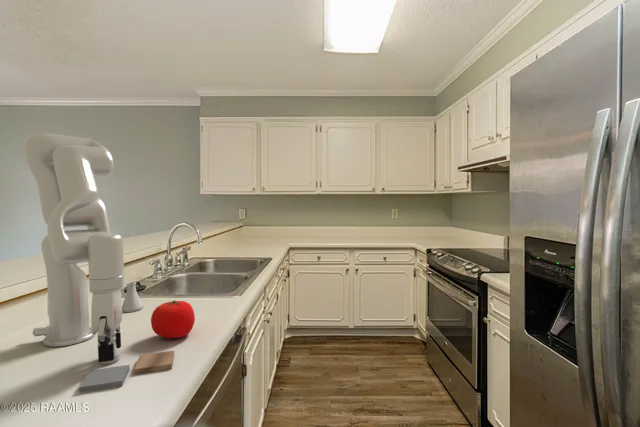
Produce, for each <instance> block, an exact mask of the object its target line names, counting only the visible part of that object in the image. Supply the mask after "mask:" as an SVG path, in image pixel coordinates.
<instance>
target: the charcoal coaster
mask: <svg viewBox="0 0 640 427" xmlns="http://www.w3.org/2000/svg"><path fill="white" fill-rule="evenodd" d="M130 370H131V369H130V364H126V365H119V366H111V367H105V368H97V369H91V370H89V372H88V373H87V375H86V376H85V378H84V379H83V381H82V382H81V384H80V385H79V387H78V394H81V393H83V394H84V393H89V392H95V391H101V390H107V389H114V388H119V387H120V388H121V387H123V385H124V383H125V381H126V379H127V377H128V374H129V372H130Z"/></svg>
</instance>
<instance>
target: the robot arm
mask: <svg viewBox="0 0 640 427" xmlns="http://www.w3.org/2000/svg"><path fill="white" fill-rule="evenodd" d="M24 156H25V160H26V163H27V167H28V168H29V170H30V172H31V173H32V176H33V177H34V180H35V181H36V185H37V187H38V188H37V189H38V196H39V201H40V207H41V213H42V217H43V220H44V223H45V224H46V226H47V235H46V236H44V237H43V239H42V241H41V243H40V244H41V245H40V246H41V254H42V258H43V261H44V266H45V273H46V283H47V284H46V285H47V286H46V287H47V300H48V303H47V304H48V319H49V320H48V322H49V325H46V326H44V327H40V326H39V327H34V328H33V330H32V335H33V336H34V337H41V336H43V337H44V338H43V339H42V340H43V341H42V342H43V343H42V344H43V345H44V346H46V347H66V346H71V345H76V344H79V343H83V342H84V341H88V340H90V339H91V338H93V337H94V336H95V335H96V334H97V336H96V337H97V358H98V362H99V363H101V362H106V361H112V360H113V359H114V343H112V334H113V332H114V331H115V330H116V331H117V333H116V334H115V337H116V339H115V343H116V347H117V349H121V347H122V339H121V338H122V334H121V326H120V325H121V323H122V320H123V312H122V305H123V303H122V301H123V300H122V292H121V291H122V290H124V289H125V286H126V283H125V266H124V265H125V259H124V258H125V257H124V240H123V237H122V236H121V235H120V234H118V233H112V232H111V228H110V227H111V226H110V222H109V218H108V211H107V208H106V205H105V203H104V201H103V200H102V199H101V198H100V197H99V196H100V194H99V190H98V186H97V182H96V179H95V177H108V176H110V175H111V174H112V173H113V171H114V168H115V164H114V162H115V161H114V159H113V155H112V154H111V152H110V151H109V149H107V147H106V146H104V145H103V144H101V143H99V142H98V141H97V140H94V139H92V138H90V137H89V138H88V137H83V136H82V137H80V136H72V135H66V134H65V135H64V134H56V133H55V134H54V133H35V134H32V135H29V136H28V137H27V138H26V139H25V143H24ZM75 227H76V228H77V227H86V228H87V229H70V230H65V228H75ZM80 263H81V264H82V263H88V264H87V265H88V277H87V274H86V272H85V271H84V270H83V269H81V268H80V267H79V266H78V264H80ZM88 280H89V281H88ZM88 284H89V285H88ZM88 287H89V289H88ZM89 293H90V294H92V297H91V311H90V310H89V309H90V307H89ZM89 311H90V312H91V318H90V313H89ZM90 320H91V321H90ZM90 322H91V325H90ZM106 329H108V330H110V331H106ZM107 334H109V339H108V337H107V336H105V335H107Z"/></svg>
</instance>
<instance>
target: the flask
mask: <svg viewBox="0 0 640 427" xmlns="http://www.w3.org/2000/svg"><path fill="white" fill-rule="evenodd" d="M136 285H137V281H131V282H127V283H125V286H126V294H125V297H124V300H123V303H122V313H131V312H132V313H133V312H137V311H140V310H142V309H143V308H144V306H143V305H144V304H143V303H142V301H141V299H140V297H139V294H138V292H137V289H136Z"/></svg>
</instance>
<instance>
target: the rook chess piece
mask: <svg viewBox="0 0 640 427" xmlns="http://www.w3.org/2000/svg"><path fill="white" fill-rule="evenodd" d="M105 331H110V330H108V329H106V330H105ZM116 333H117V331H116V330H115V331H114V332H113V334H112V343H114V359H113V360H112V361H106V362H100V363H101V364H102V365H112V364H115V363H117V362H118V361H120V359H121V353H120V351H119V348H117V347H116V343H115V339H116V337H115V334H116ZM105 336H107V337H108V339H109V334H107V335H105Z"/></svg>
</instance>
